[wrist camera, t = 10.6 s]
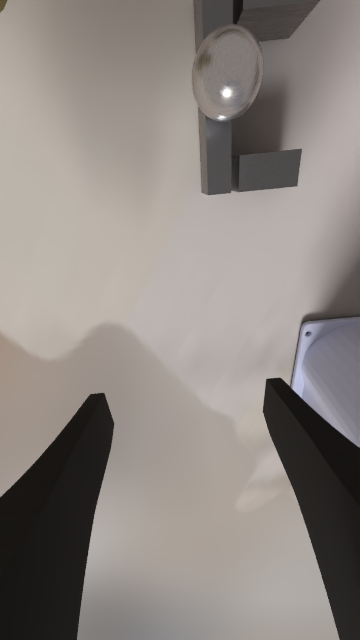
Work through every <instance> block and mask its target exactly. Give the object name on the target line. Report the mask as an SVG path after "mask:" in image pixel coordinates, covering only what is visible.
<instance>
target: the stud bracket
mask: <svg viewBox="0 0 360 640" xmlns="http://www.w3.org/2000/svg"><path fill="white" fill-rule="evenodd" d="M319 1H320V0H194V18H195V42H196V57H195V60H194V64H193V69H192V89H193V94H194V97H195V100H196V102H197V104H198V114H199V138H200V162H201V186H202V193H204V194H206V195H215V194H225V193H231V191H236V192H244V191H254V190H264V189H274V188H284V187H294V186H297V183H298V175H299V167H300V159H301V151H302V149H295V150H285V151H276V152H266V153H256V154H247V155H239V156H236V157H233V158H231V145H232V120H234V119H236V118H238V117H239V116H241V115H242V114H244V113H245V112H246V111H247V110H248V108H249V107H250V106H251V105H252V103H253V102H254V100H255V98H256V96H257V94H258V92H259V89H260V86H261V82H262V77H263V56H262V51H261V48H260V45H259V43H258V41H266V40H275V39H284V38H289V37H290V36H291V35H292V34H293V32H294V31H295V30H296V29H297V28H298V26H299V25H300V24H301V23H302V22H303V20H304V19H305V18H306V17H307V16H308V14H309V13H310V12H311V11H312V10H313V8H314V7H315V6H316V5H317V4H318V2H319Z"/></svg>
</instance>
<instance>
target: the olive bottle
mask: <svg viewBox="0 0 360 640" xmlns="http://www.w3.org/2000/svg"><path fill="white" fill-rule="evenodd" d="M6 2H7V0H0V12H1V11H2V10H3V9H4V7H5V4H6Z"/></svg>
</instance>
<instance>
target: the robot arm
mask: <svg viewBox="0 0 360 640" xmlns="http://www.w3.org/2000/svg"><path fill="white" fill-rule="evenodd" d="M308 331H309V333H308V334H306V332H308ZM263 413H264V417H265V420H266V424H267V427H268V430H269V433H270V436H271V438H272V441H273V443H274V445H275V448H276V450H277V452H278V455H279V457H280V459H281V462H282V464H283V466H284V469H285V471H286V473H287V476H288V478H289V480H290V482H291V485H292V487H293V490H294V492H295V495H296V497H297V500H298V503H299V506H300V509H301V512H302V515H303V518H304V521H305V524H306V527H307V530H308V533H309V537H310V539H311V543H312V546H313V549H314V552H315V555H316V559H317V562H318V565H319V569H320V572H321V575H322V579H323V582H324V585H325V589H326V592H327V596H328V599H329V603H330V606H331V610H332V613H333V617H334V620H335V624H336V628H337V631H338V635H339V639H340V640H360V317H350V318H339V319H328V320H317V321H308V322H305V323H304V324H303V325H302V327H301V332H300V338H299V343H298V349H297V355H296V361H295V366H294V372H293V378H292V384H291V387H290V386H289V385H288V384H287V383H286V382H285V381H284V380H283V379H281V378H271V379H266V388H265V397H264V406H263ZM113 428H114V422H113V419H112V415H111V412H110V409H109V406H108V403H107V400H106V397H105V394H104V393H98V394H90V396H89V397H88V398H87V399H86V400H85V402H84V403H83V404H82V406H81V407H80V408H79V410H78V411H77V413H76V414H75V415H74V416H73V418H72V419H71V420H70V422H69V423H68V424H67V425H66V426H65V428H64V429H63V430H62V431H61V433H60V434H59V435H58V436H57V438H56V439H55V440H54V441H53V442H52V444H51V445H50V446H49V447H48V448H47V449H46V450H45V452H44V453H43V454H42V455H41V456H40V458H39V459H38V460H37V461H36V462H35V463H34V464H33V465H32V466H31V467H30V468H29V469H28V470H27V471H26V473H25V474H24V475H23V476H22V477H21V478H20V479H19V480H18V481H17V482H16V483H15V484H14V485H13V486H12V487H11V488H10V489H9V490H8V491H6V492H5V494H3V496H1V497H0V640H77V632H78V624H79V615H80V607H81V599H82V591H83V584H84V576H85V569H86V563H87V556H88V550H89V543H90V537H91V531H92V524H93V519H94V514H95V509H96V505H97V500H98V496H99V493H100V489H101V485H102V481H103V477H104V473H105V469H106V465H107V461H108V457H109V453H110V449H111V443H112V436H113Z"/></svg>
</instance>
